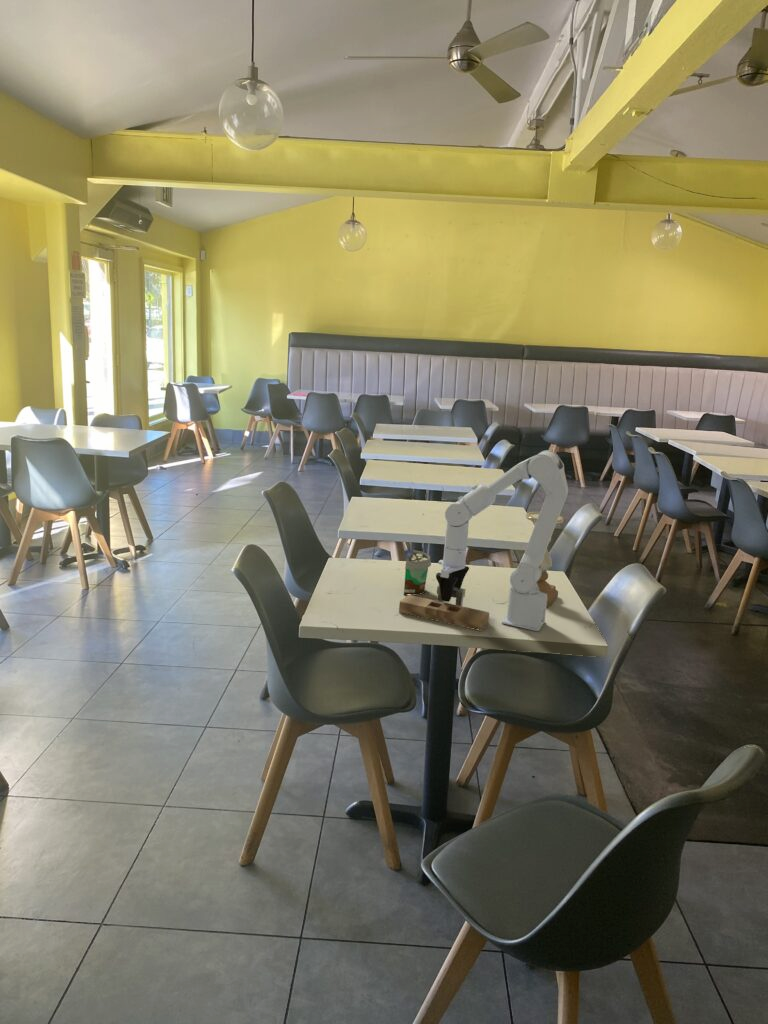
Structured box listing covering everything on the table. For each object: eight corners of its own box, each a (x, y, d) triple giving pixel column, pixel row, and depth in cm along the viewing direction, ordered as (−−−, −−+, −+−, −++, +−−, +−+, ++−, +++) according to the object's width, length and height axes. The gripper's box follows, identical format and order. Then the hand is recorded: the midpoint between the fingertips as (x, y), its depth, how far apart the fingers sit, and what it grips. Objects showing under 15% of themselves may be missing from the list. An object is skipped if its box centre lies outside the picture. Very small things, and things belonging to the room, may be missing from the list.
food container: (425, 599, 197) (428, 564, 195) (402, 596, 198) (405, 561, 196) (431, 585, 209) (434, 552, 207) (410, 582, 210) (413, 549, 208)
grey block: (463, 608, 192) (465, 589, 191) (460, 611, 190) (462, 591, 189) (438, 603, 195) (440, 584, 193) (435, 606, 192) (437, 586, 191)
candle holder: (509, 598, 202) (519, 516, 197) (521, 588, 212) (531, 509, 206) (548, 607, 198) (559, 523, 192) (558, 596, 207) (569, 515, 202)
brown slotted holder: (488, 623, 183) (489, 612, 183) (481, 631, 178) (482, 619, 177) (407, 605, 192) (408, 594, 191) (398, 612, 186) (399, 601, 185)
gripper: (449, 538, 196) (445, 585, 200) (431, 550, 183) (426, 601, 187) (474, 543, 194) (469, 591, 197) (458, 555, 181) (452, 607, 184)
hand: (450, 596), depth 192 cm, fingers open, 7 cm apart
